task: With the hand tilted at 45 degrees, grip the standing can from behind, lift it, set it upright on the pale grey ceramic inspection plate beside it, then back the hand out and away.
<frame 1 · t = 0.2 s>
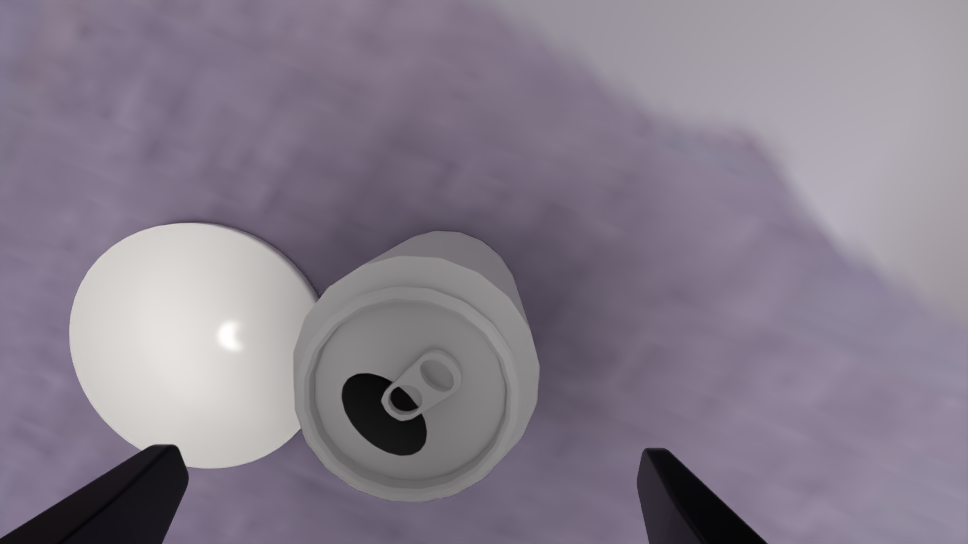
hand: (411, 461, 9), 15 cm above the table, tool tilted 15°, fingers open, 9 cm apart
can: (445, 300, 24), on the table
inspection plate: (209, 345, 25), on the table
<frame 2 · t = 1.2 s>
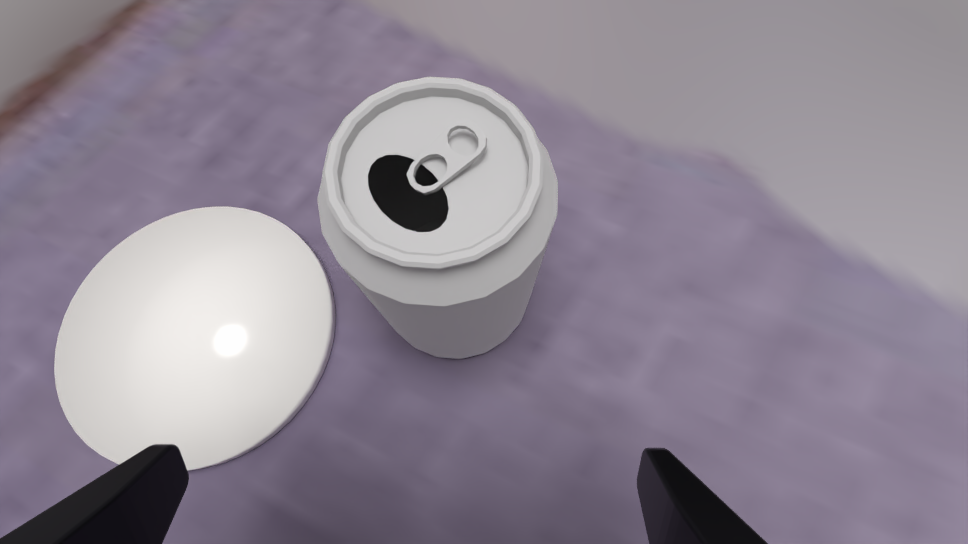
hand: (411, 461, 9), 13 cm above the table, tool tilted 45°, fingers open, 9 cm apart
can: (457, 290, 24), on the table
inspection plate: (206, 330, 23), on the table
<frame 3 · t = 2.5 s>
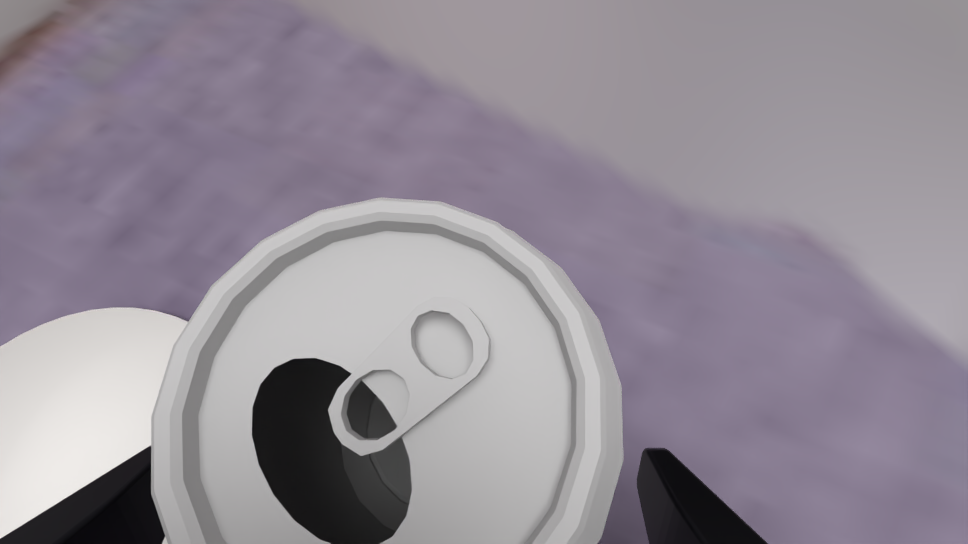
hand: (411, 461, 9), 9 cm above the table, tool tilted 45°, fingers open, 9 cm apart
can: (447, 425, 18), on the table
inspection plate: (94, 489, 17), on the table
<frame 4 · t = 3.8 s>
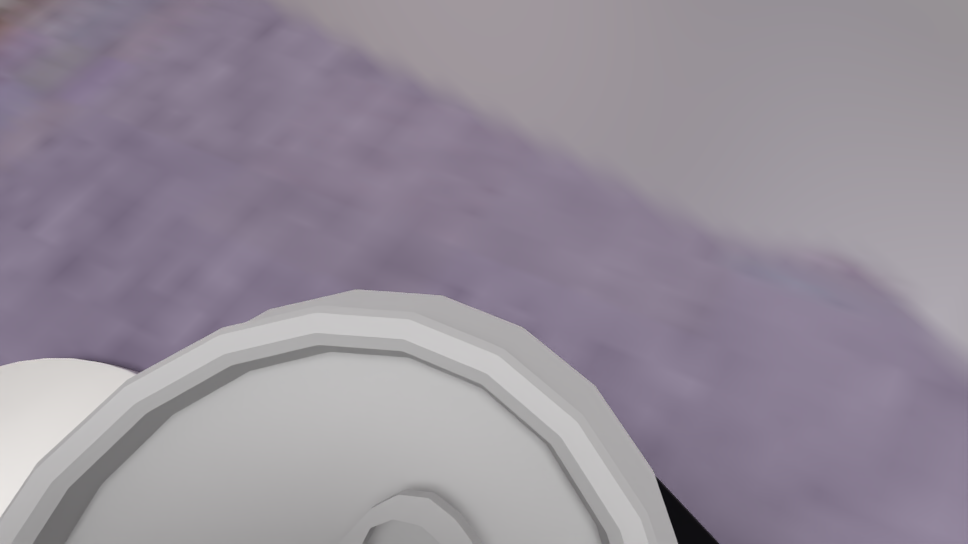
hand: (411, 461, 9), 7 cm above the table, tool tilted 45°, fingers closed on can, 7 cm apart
can: (440, 497, 15), on the table, touching gripper
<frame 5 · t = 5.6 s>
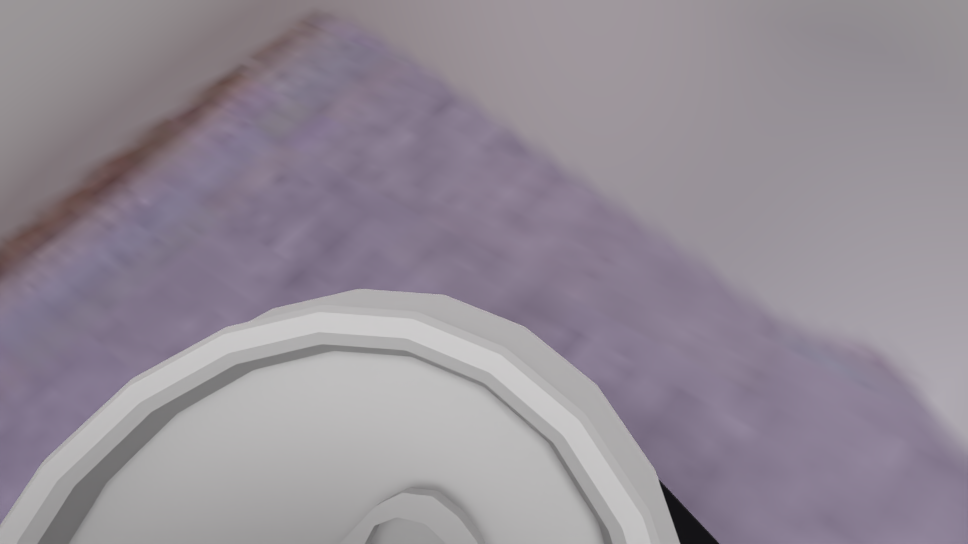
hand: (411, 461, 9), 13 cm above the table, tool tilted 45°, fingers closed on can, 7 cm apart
can: (441, 496, 15), point 6 cm above the table, touching gripper
when the fingers open (8 cm above the table, at t = 7.9 s): can stays where it is, resting on inspection plate.
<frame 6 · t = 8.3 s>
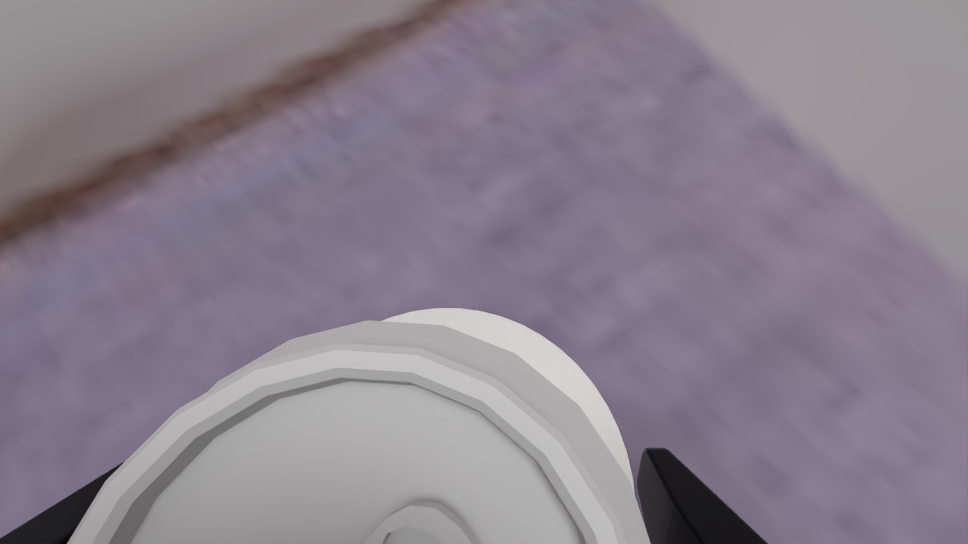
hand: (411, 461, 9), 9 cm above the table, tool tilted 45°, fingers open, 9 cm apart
can: (442, 500, 16), point 1 cm above the table, touching inspection plate
inspection plate: (444, 490, 17), on the table
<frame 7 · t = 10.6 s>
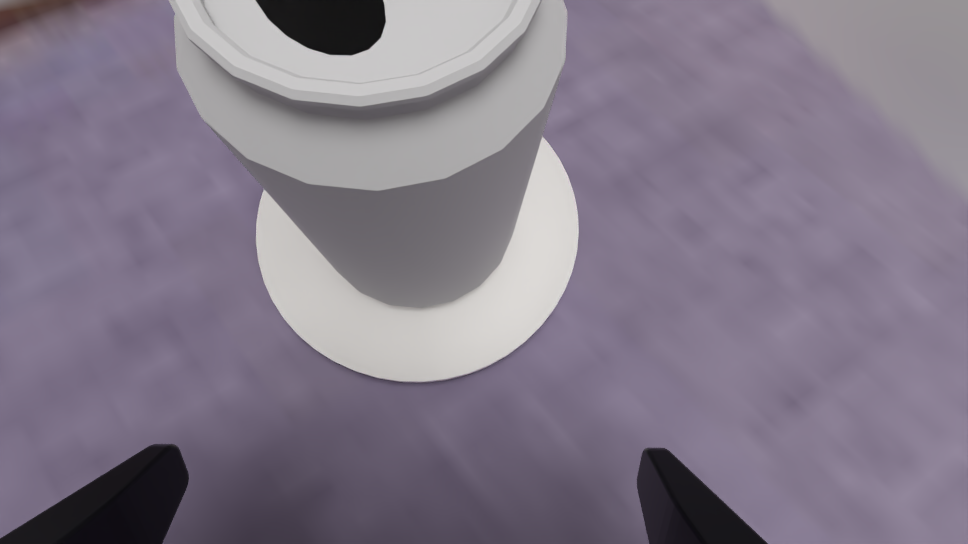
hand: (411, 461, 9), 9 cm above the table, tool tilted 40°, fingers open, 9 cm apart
can: (420, 224, 19), point 1 cm above the table, touching inspection plate
inspection plate: (422, 227, 20), on the table
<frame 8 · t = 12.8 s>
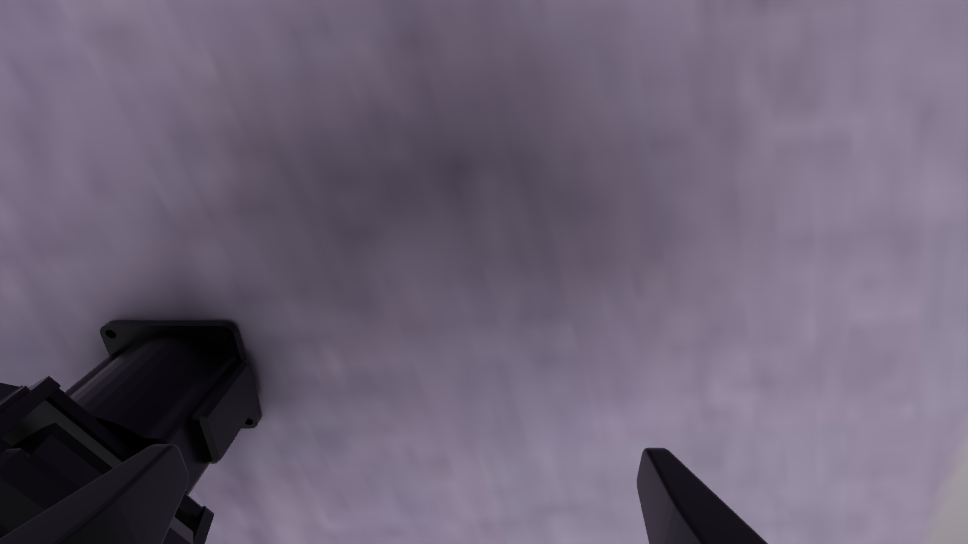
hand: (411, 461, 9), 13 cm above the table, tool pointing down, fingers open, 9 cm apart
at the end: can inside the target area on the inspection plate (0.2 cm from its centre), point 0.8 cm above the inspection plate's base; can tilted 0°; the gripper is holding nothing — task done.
